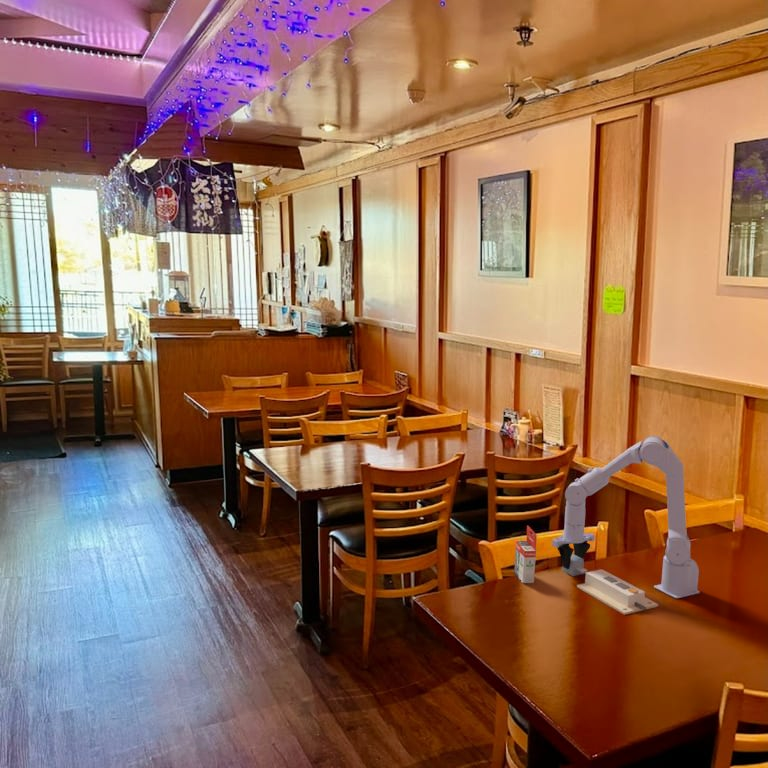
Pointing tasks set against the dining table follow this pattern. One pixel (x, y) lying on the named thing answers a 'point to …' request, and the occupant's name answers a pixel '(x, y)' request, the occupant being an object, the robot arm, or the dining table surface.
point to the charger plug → (575, 566)
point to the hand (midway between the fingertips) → (571, 566)
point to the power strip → (615, 592)
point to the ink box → (526, 558)
